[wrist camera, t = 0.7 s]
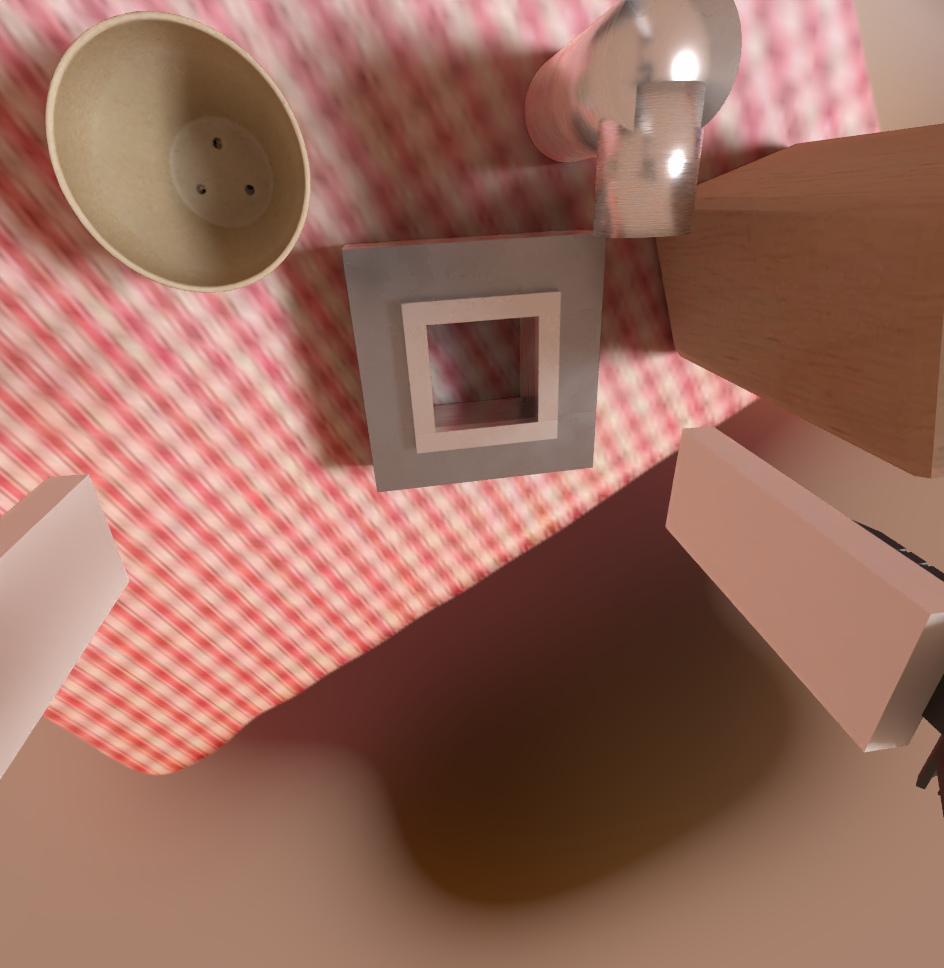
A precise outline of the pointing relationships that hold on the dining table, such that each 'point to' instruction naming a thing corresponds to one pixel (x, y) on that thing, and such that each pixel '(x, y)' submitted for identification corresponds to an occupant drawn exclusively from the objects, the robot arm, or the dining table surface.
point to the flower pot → (177, 152)
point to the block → (825, 288)
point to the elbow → (638, 107)
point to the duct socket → (466, 298)
